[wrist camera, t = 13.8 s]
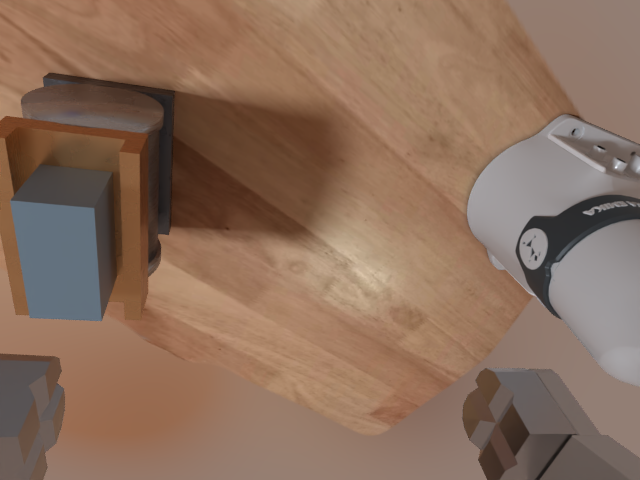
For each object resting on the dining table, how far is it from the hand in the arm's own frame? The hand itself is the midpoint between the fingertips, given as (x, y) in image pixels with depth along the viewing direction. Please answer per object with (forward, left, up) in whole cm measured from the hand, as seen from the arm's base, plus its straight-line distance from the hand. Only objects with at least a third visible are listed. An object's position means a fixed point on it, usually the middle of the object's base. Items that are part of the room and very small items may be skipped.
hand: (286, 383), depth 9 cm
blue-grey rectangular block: (+11, +13, -25) cm, 30 cm away
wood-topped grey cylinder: (+11, +13, -37) cm, 41 cm away
